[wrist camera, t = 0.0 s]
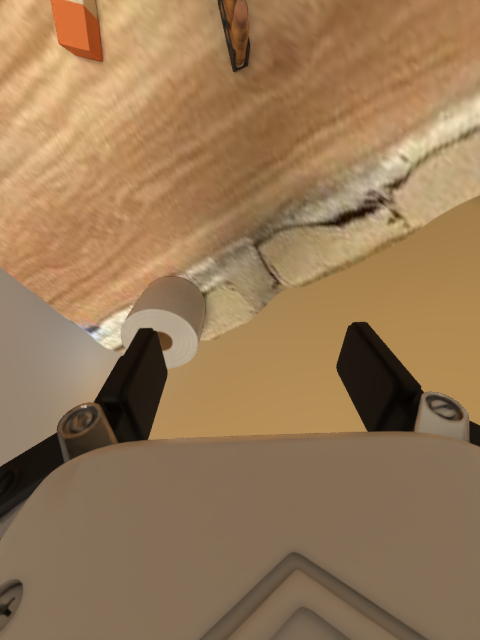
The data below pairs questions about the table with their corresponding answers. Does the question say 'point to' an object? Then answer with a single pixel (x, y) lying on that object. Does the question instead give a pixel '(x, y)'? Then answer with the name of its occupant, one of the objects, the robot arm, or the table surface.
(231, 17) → the ammunition clip
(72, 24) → the rectangular block
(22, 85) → the table surface
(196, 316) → the toilet paper roll
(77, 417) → the robot arm
